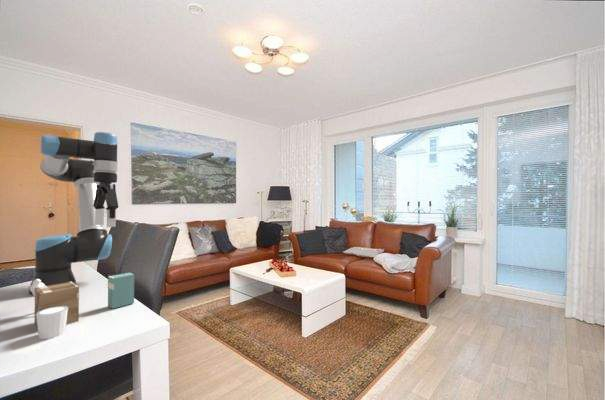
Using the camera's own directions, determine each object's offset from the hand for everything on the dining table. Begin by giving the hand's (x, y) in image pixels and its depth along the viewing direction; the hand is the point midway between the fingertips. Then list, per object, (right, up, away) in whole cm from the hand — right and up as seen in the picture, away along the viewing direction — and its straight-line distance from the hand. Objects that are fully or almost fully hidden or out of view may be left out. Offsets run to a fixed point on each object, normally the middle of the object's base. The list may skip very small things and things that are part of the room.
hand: (105, 225), depth 108 cm
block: (+11, -29, -7) cm, 32 cm away
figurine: (-12, -29, -15) cm, 35 cm away
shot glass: (+6, -29, -29) cm, 41 cm away
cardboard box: (0, -29, -21) cm, 36 cm away
